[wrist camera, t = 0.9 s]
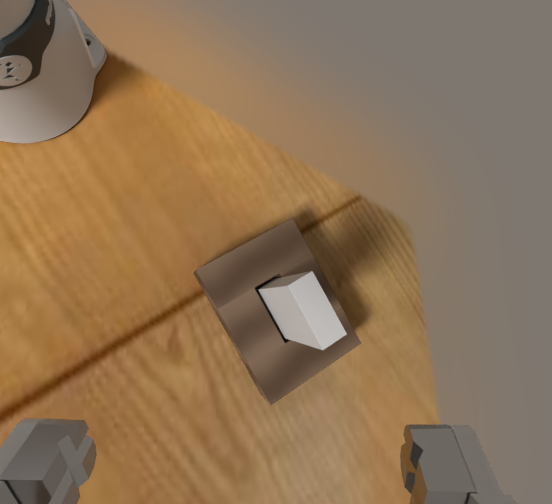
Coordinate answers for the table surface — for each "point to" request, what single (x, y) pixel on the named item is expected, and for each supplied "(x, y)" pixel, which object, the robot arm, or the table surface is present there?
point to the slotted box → (254, 317)
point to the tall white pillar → (301, 310)
